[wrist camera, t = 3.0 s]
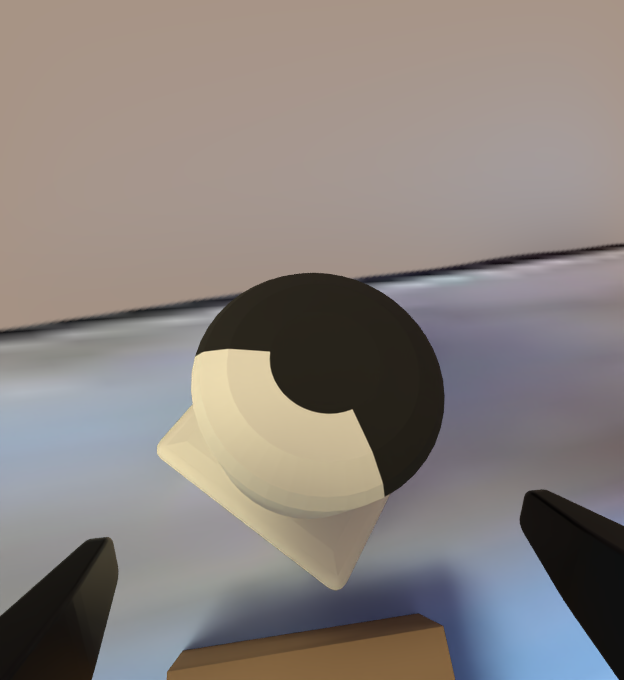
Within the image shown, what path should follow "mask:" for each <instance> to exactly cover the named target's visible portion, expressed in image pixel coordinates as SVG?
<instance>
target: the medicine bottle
mask: <svg viewBox="0 0 624 680" xmlns="http://www.w3.org/2000/svg"><path fill="white" fill-rule="evenodd" d="M191 392H192V401H193V404H192V406H191V407H190V408H189V409H188V410H187V411H186V412H185V414H184V415H183V416H182V417H181V418H180V419H179V420H178V421H177V423H176V424H175V425H174V426H173V427H172V428H171V429H170V431H169V432H168V433H167V434H166V435H165V436H164V437H163V438H162V440H161V441H160V442H159V444H158V446H157V454H158V455H159V457H160V458H161V459H162V460H163V461H165V462H166V463H167V464H169V465H170V466H171V467H172V468H174V469H175V470H176V471H178V472H179V473H180V474H181V475H183V476H184V477H185V478H187V479H188V480H189V481H191V482H192V483H193V484H194V485H196V486H197V487H198V488H200V489H201V490H202V491H204V492H205V493H206V494H207V495H209V496H210V497H211V498H213V499H214V500H215V501H216V502H218V503H219V504H220V505H222V506H223V507H224V508H226V509H227V510H228V511H229V512H231V513H232V514H233V515H235V516H236V517H237V518H238V519H240V520H241V521H242V522H244V523H245V524H246V525H248V526H249V527H250V528H251V529H253V530H254V531H255V532H257V533H258V534H259V535H261V536H262V537H263V538H264V539H266V540H267V541H268V542H270V543H271V544H272V545H273V546H275V547H276V548H277V549H279V550H280V551H281V552H283V553H284V554H285V555H286V556H288V557H289V558H290V559H292V560H293V561H294V562H296V563H297V564H298V565H299V566H301V567H302V568H303V569H305V570H306V571H307V572H308V573H310V574H311V575H312V576H314V577H315V578H316V579H318V580H319V581H320V582H321V583H323V584H324V585H325V586H327V587H328V588H330V589H332V590H339V589H342V588H343V587H344V585H345V584H346V583H347V581H348V579H349V577H350V575H351V573H352V571H353V569H354V567H355V565H356V563H357V561H358V559H359V556H360V554H361V552H362V550H363V548H364V546H365V544H366V542H367V540H368V538H369V536H370V534H371V532H372V530H373V528H374V526H375V524H376V522H377V520H378V518H379V516H380V514H381V512H382V510H383V508H384V506H385V504H386V502H387V500H388V498H389V496H390V493H392V492H393V491H395V490H397V489H398V488H400V487H401V486H402V485H403V484H404V483H406V482H407V481H408V480H409V479H410V478H411V477H412V476H413V475H414V474H415V473H416V472H417V471H418V469H419V468H420V467H421V466H422V464H423V463H424V462H425V461H426V459H427V457H428V456H429V454H430V452H431V450H432V448H433V447H434V445H435V442H436V439H437V437H438V434H439V431H440V428H441V423H442V418H443V413H444V386H443V378H442V374H441V370H440V366H439V363H438V360H437V358H436V355H435V353H434V350H433V348H432V346H431V344H430V343H429V341H428V339H427V337H426V335H425V334H424V333H423V331H422V330H421V328H420V327H419V326H418V324H417V323H416V322H415V321H414V320H413V319H412V318H411V316H410V315H409V314H408V313H407V312H406V311H405V310H404V309H403V308H402V307H400V306H399V305H398V304H397V303H396V302H395V301H394V300H392V299H391V298H389V297H388V296H386V295H385V294H383V293H382V292H380V291H378V290H376V289H375V288H373V287H371V286H369V285H367V284H364V283H362V282H359V281H357V280H354V279H350V278H347V277H343V276H337V275H332V274H324V273H302V274H294V275H288V276H282V277H279V278H275V279H272V280H268V281H266V282H263V283H261V284H259V285H257V286H254V287H252V288H250V289H249V290H247V291H245V292H244V293H242V294H240V295H239V296H238V297H236V298H235V299H234V300H233V301H231V302H230V303H229V304H228V305H227V306H226V307H225V308H224V309H223V310H222V311H221V312H220V313H219V314H218V315H217V316H216V317H215V319H214V320H213V322H212V323H211V324H210V326H209V327H208V329H207V331H206V332H205V334H204V336H203V338H202V340H201V342H200V345H199V347H198V350H197V353H196V356H195V360H194V365H193V370H192V384H191Z"/></svg>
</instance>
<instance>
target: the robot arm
mask: <svg viewBox="0 0 624 680" xmlns="http://www.w3.org/2000/svg"><path fill="white" fill-rule="evenodd" d="M520 525H521V528H522V531H523V533H524V534H525V536H526V538H527V539H528V541H529V543H530V545H531V546H532V548H533V550H534V551H535V553H536V555H537V556H538V558H539V560H540V561H541V563H542V565H543V567H544V568H545V570H546V572H547V573H548V575H549V577H550V578H551V580H552V582H553V584H554V585H555V587H556V589H557V590H558V592H559V593H560V595H561V597H562V598H563V600H564V601H565V603H566V604H567V606H568V607H569V609H570V610H571V612H572V613H573V615H574V616H575V618H576V619H577V621H578V622H579V623H580V625H581V626H582V628H583V629H584V631H585V632H586V633H587V635H588V636H589V638H590V639H591V641H592V642H593V643H594V645H595V646H596V648H597V649H598V651H599V652H600V653H601V655H602V656H603V658H604V659H605V661H606V662H607V663H608V665H609V666H610V668H611V669H612V671H613V672H614V674H615V675H616V676H617V678H618V679H619V680H624V526H623V525H620V524H618V523H616V522H614V521H612V520H610V519H608V518H605V517H603V516H601V515H599V514H597V513H595V512H593V511H591V510H588V509H586V508H584V507H582V506H580V505H578V504H576V503H573V502H571V501H569V500H567V499H565V498H563V497H561V496H559V495H556V494H554V493H552V492H550V491H548V490H544V489H540V490H531V491H528V492H527V493H526V494H525V496H524V501H523V505H522V510H521V515H520ZM117 581H118V564H117V559H116V554H115V549H114V544H113V541H112V539H111V538H109V537H103V538H94V539H89V540H87V541H85V542H84V543H83V544H82V545H80V546H79V547H78V548H77V549H76V550H75V551H74V552H72V553H71V554H70V555H69V556H68V557H67V558H66V559H65V560H63V561H62V562H61V563H60V564H59V565H58V566H57V567H55V568H54V569H53V570H52V571H51V572H50V573H49V574H48V575H46V576H45V577H44V578H43V579H42V580H41V581H40V582H38V583H37V584H36V585H35V586H34V587H33V588H32V589H31V590H29V591H28V592H27V593H26V594H25V595H24V596H23V597H21V598H20V599H19V600H18V601H17V602H16V603H15V604H14V605H12V606H11V607H10V608H9V609H8V610H7V611H6V612H4V613H3V614H2V615H1V616H0V680H92V677H93V673H94V670H95V666H96V662H97V659H98V655H99V651H100V647H101V643H102V639H103V635H104V632H105V628H106V624H107V620H108V616H109V612H110V608H111V605H112V601H113V597H114V593H115V589H116V585H117Z"/></svg>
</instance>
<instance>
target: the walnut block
mask: <svg viewBox="0 0 624 680" xmlns="http://www.w3.org/2000/svg"><path fill="white" fill-rule="evenodd" d="M167 680H455V677H454V672H453V668H452V663H451V659H450V654H449V650H448V645H447V640H446V636H445V631H444V627H443V626H442V625H440V624H438V623H436V622H434V621H432V620H430V619H428V618H427V617H425V616H423V615H421V614H419V613H417V614H411V615H405V616H398V617H392V618H386V619H379V620H373V621H367V622H361V623H354V624H348V625H342V626H335V627H329V628H323V629H316V630H310V631H304V632H297V633H291V634H285V635H278V636H272V637H266V638H260V639H253V640H247V641H241V642H234V643H228V644H222V645H215V646H209V647H203V648H196V649H190V650H184V651H182V653H181V654H180V655H179V657H178V658H177V659H176V661H175V662H174V663H173V665H172V666H171V667H170V669H169V670H168V671H167Z"/></svg>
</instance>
